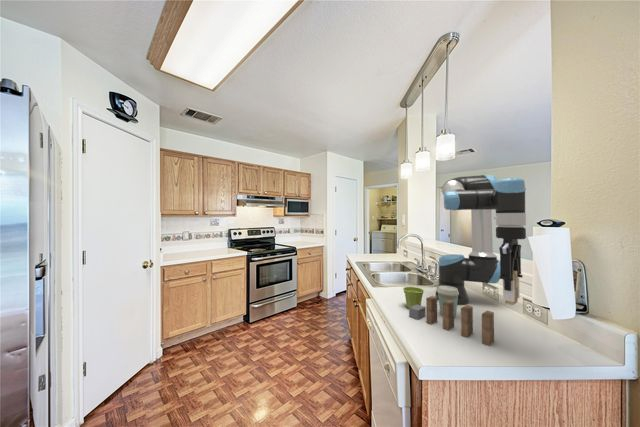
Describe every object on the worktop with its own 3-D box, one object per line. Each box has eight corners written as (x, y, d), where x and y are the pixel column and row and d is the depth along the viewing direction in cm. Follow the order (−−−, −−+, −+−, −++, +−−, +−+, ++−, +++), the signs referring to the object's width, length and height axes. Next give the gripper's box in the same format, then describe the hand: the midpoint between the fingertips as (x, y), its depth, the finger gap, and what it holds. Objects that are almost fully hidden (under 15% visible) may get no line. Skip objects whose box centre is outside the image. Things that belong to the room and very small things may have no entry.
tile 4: (448, 325, 92) (448, 300, 92) (454, 327, 90) (453, 301, 90) (442, 328, 89) (442, 302, 89) (448, 330, 87) (448, 304, 87)
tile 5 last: (432, 319, 97) (432, 295, 97) (437, 321, 95) (437, 296, 96) (426, 322, 94) (426, 298, 94) (431, 324, 92) (431, 299, 93)
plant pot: (400, 303, 115) (400, 286, 115) (419, 304, 114) (419, 286, 115) (406, 311, 105) (406, 292, 106) (427, 311, 105) (427, 292, 105)
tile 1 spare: (510, 300, 77) (509, 269, 77) (517, 301, 75) (517, 270, 75) (505, 303, 74) (504, 271, 74) (513, 305, 72) (512, 273, 72)
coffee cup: (462, 320, 96) (462, 291, 96) (440, 318, 98) (440, 290, 98) (455, 312, 105) (454, 285, 105) (434, 310, 106) (434, 284, 106)
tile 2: (487, 338, 82) (486, 310, 82) (494, 341, 80) (493, 312, 80) (482, 343, 78) (481, 314, 79) (489, 346, 77) (488, 315, 77)
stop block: (416, 313, 103) (416, 304, 103) (425, 316, 100) (425, 307, 100) (409, 316, 100) (409, 307, 100) (418, 320, 96) (417, 310, 97)
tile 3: (466, 331, 87) (466, 304, 87) (472, 333, 85) (472, 306, 85) (461, 335, 84) (460, 308, 84) (467, 338, 82) (467, 309, 82)
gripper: (504, 225, 83) (505, 290, 83) (486, 226, 72) (487, 301, 72) (532, 226, 77) (533, 296, 77) (517, 227, 66) (518, 308, 66)
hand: (511, 298), depth 74 cm, fingers closed on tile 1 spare, 5 cm apart
